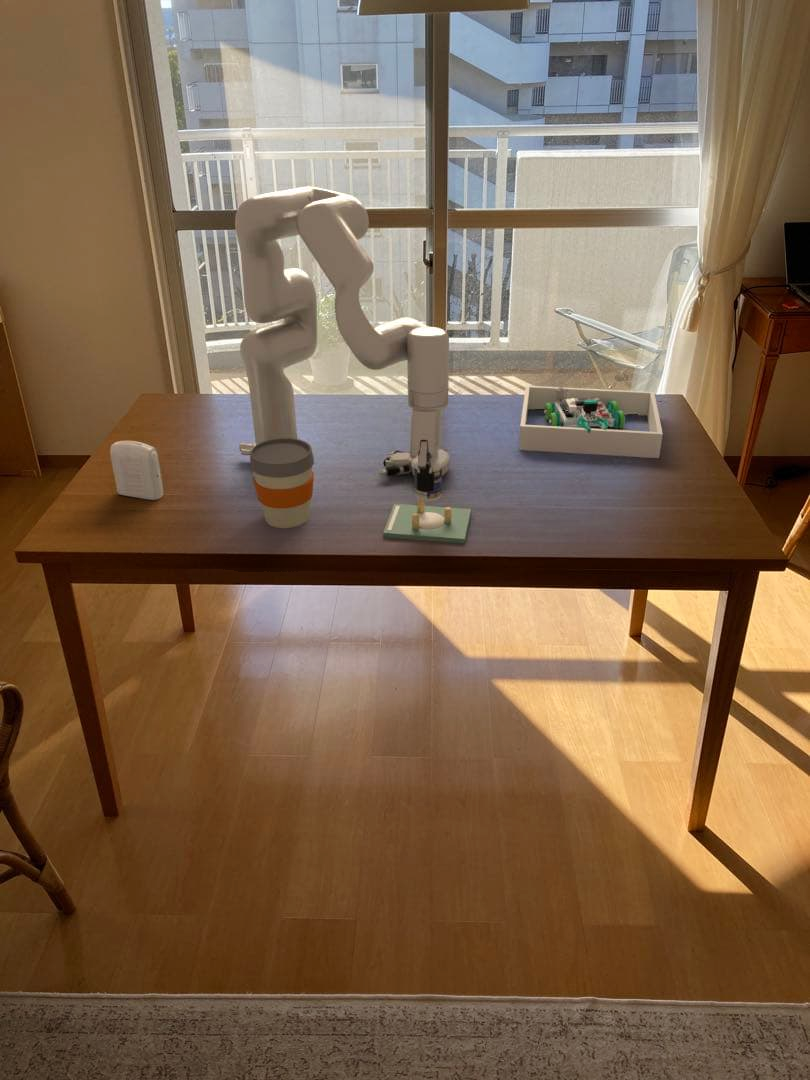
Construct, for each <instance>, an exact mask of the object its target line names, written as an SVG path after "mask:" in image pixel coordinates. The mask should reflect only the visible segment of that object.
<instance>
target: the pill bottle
mask: <svg viewBox="0 0 810 1080" xmlns="http://www.w3.org/2000/svg"><path fill="white" fill-rule="evenodd" d="M427 457H431V455H430V454H427ZM438 457H439V453H437V456H436V458H435V459H434V460H433V472H434V491H432V492H430V491H418V490H417V471H418V459H417V460H416V461H415V463H414V475H413V476H414V479H413V480H414V482H413V483H414V485H413V487H414V489H413V490H414V492H413V493H414V497H415V499H419V500H422V501H424V502H433V501H437V500H439V499H440V498H441V497H442V491H443V490H442V489H443V488H442V487H443V476H442V462H441V461H440V460H439V459H438ZM427 464H430V461H427Z"/></svg>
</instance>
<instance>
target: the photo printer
mask: <svg viewBox="0 0 810 1080" xmlns="http://www.w3.org/2000/svg"><path fill="white" fill-rule="evenodd" d="M109 449H110V451H109V454H110V460H111V466H112V470H113V471H112V472H113V475H114V480H115V486H116V491H117V494H118V495H122V496H126V497H133V498H139V499H143V500H152V501H157V500H160V499H161V498H162V497H163V495H164V486H163V485H164V484H163V480H162V478H163V477H162V472H161V466H160V460H159V453H158V451H157V449H156V448H155V447H154V446H152V445H149V444H146V443H144V442H139V441H137V440H136V441H135V440H120V441H115V442H113V444H111V446H110V448H109Z"/></svg>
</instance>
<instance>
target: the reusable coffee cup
mask: <svg viewBox="0 0 810 1080" xmlns="http://www.w3.org/2000/svg"><path fill="white" fill-rule="evenodd" d="M249 460H250V461H249V467H250V469H251V471H252V472H253V477H252V480H253V481H252V482H253V485H254V488H255V489H254V490H255V493H256V496H257V500H258V501H259V503H260V505H261V508H262V510H263V511H262V512H263V515H264V518H265V522H266V523H267V524H268V525H269V526H271V527H274V528H277V529H278V528H279V529H290V528H296V527H299V526H302V525H303V524H305V523H306V522H307V521H308V520H309V519H310V518H309V517H310V511H311V510H310V508H311V507H310V506H311V499H312V497H313V491H314V475H315V474H314V471H313V466H314V464H315V458H314V454H313V448H312V446H311V444H310V443H309V442H307V441H305V440H302V439H299V438H297V439H294V438H276V439H270V440H266V441H263V442H261V443H259V444H257V445H255V446H254V447H253V448H252V449H251V451H250V455H249Z"/></svg>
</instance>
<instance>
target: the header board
mask: <svg viewBox="0 0 810 1080" xmlns="http://www.w3.org/2000/svg"><path fill="white" fill-rule="evenodd" d="M416 499H417V498H416ZM416 501H417V502H416V503H417V505H416V504H403V503H393V505H392V509H391V511H390V514H389V517H388V519H387V522H386V524H385V527H384V529H383V535H382V536H383V538H391V539H404V540H416V541H417V540H419V541H428V542H429V541H431V542H439V543H440V542H444V543H452V544H453V543H456V544H465V543H466V538H467V534H468V528H469V525H470V520H471V515H472V509H471V508H462V507H461V508H459V507H449V506H447V507H446V506H445V507H444V506H433V505H431V506H430V505H425V501H422V500H419V499H417V500H416Z"/></svg>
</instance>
